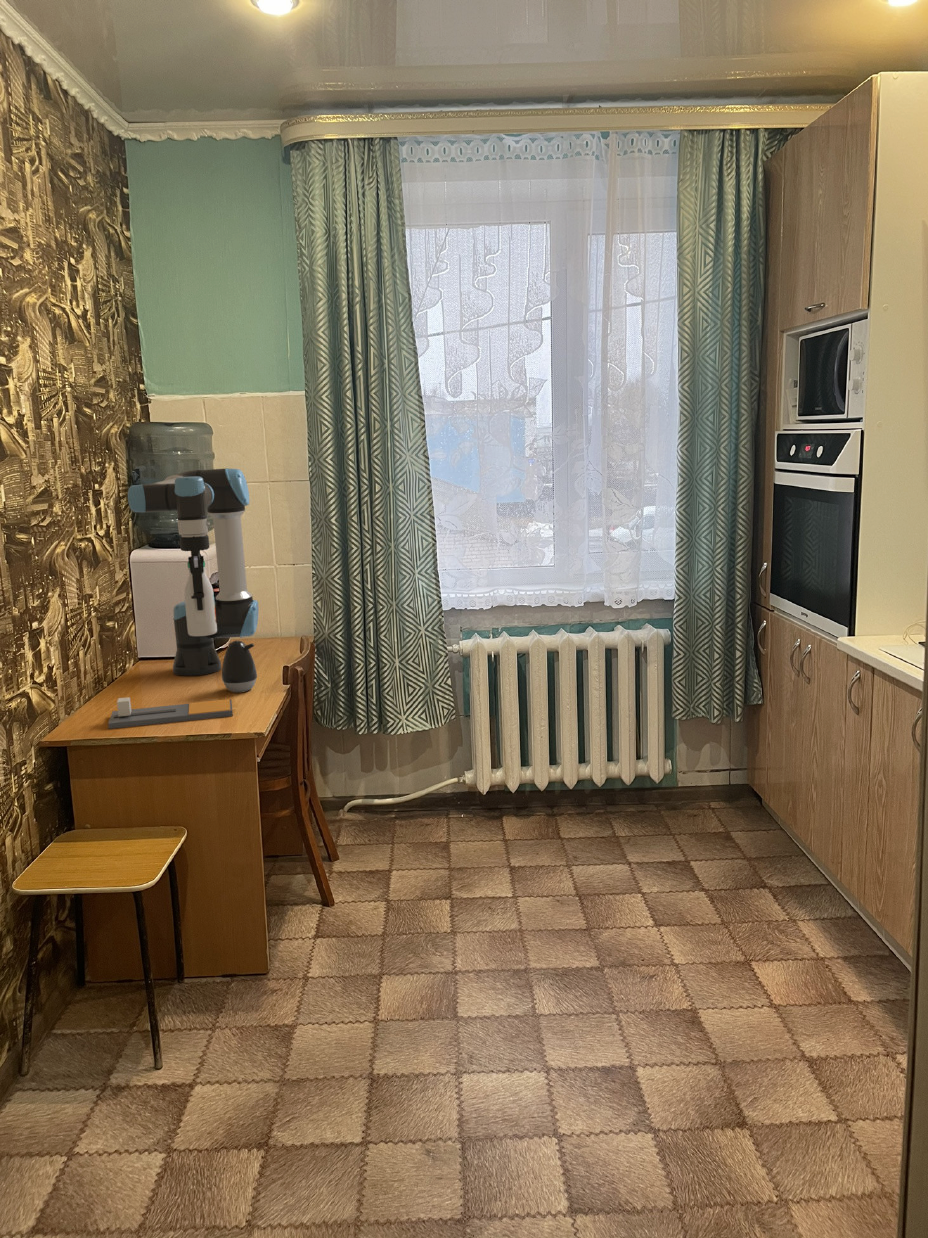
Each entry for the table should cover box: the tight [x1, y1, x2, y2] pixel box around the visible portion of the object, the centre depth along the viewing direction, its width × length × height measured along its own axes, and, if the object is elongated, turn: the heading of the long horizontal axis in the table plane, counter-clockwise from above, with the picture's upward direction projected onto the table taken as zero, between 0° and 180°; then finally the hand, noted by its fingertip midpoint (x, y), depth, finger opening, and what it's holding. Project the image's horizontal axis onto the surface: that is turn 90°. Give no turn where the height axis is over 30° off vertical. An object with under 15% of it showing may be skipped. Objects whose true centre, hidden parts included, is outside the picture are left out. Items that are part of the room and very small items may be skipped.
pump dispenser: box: [221, 640, 258, 693], centre depth 289 cm, size 10×10×15 cm
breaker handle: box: [116, 696, 132, 716], centre depth 262 cm, size 4×3×4 cm
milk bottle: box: [184, 560, 217, 636], centre depth 262 cm, size 8×8×20 cm
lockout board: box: [107, 698, 234, 730], centre depth 266 cm, size 12×32×2 cm, turn 104°
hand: (201, 618), depth 263 cm, fingers closed on milk bottle, 8 cm apart
